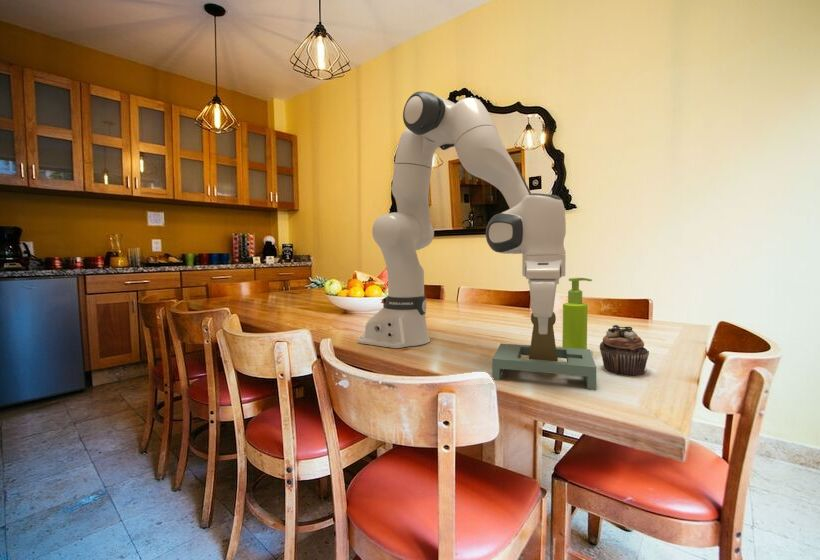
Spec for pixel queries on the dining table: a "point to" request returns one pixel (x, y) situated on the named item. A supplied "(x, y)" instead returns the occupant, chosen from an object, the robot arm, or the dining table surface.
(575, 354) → the grey-green slotted stand
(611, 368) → the cupcake
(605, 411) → the dining table surface
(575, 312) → the soap dispenser
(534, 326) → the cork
